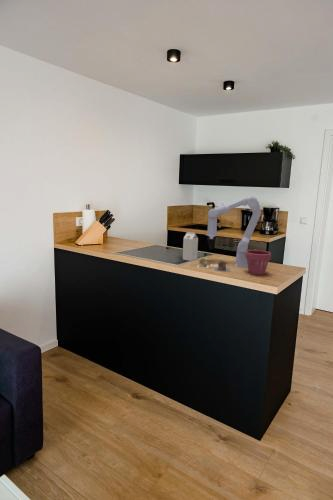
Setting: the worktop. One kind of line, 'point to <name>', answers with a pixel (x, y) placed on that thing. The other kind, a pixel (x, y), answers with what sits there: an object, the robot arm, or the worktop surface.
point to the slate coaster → (222, 270)
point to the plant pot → (257, 261)
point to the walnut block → (221, 265)
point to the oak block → (203, 262)
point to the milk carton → (190, 246)
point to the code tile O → (204, 267)
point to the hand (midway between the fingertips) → (211, 248)
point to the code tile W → (214, 265)
